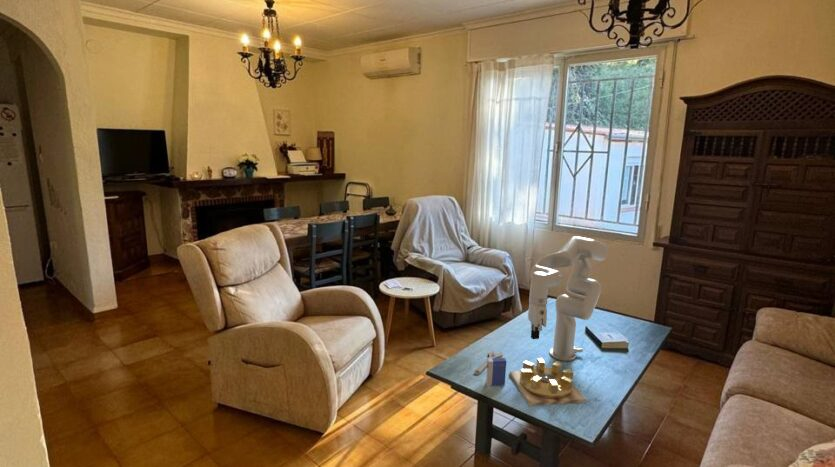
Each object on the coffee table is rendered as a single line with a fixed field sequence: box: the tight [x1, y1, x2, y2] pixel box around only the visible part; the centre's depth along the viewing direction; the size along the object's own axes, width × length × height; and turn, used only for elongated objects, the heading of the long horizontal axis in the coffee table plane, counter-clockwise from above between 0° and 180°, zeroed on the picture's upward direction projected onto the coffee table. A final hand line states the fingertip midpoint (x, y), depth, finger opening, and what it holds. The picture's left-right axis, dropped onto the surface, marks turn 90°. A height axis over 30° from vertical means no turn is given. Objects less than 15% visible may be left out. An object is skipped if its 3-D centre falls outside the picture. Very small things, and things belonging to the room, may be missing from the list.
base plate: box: [509, 370, 586, 407], centre depth 191 cm, size 24×24×2 cm
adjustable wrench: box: [474, 350, 503, 376], centre depth 211 cm, size 25×6×2 cm, turn 142°
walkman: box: [485, 357, 507, 387], centre depth 192 cm, size 8×3×12 cm, turn 96°
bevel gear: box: [520, 357, 574, 399], centre depth 190 cm, size 22×22×6 cm
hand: (534, 338), depth 196 cm, fingers closed
